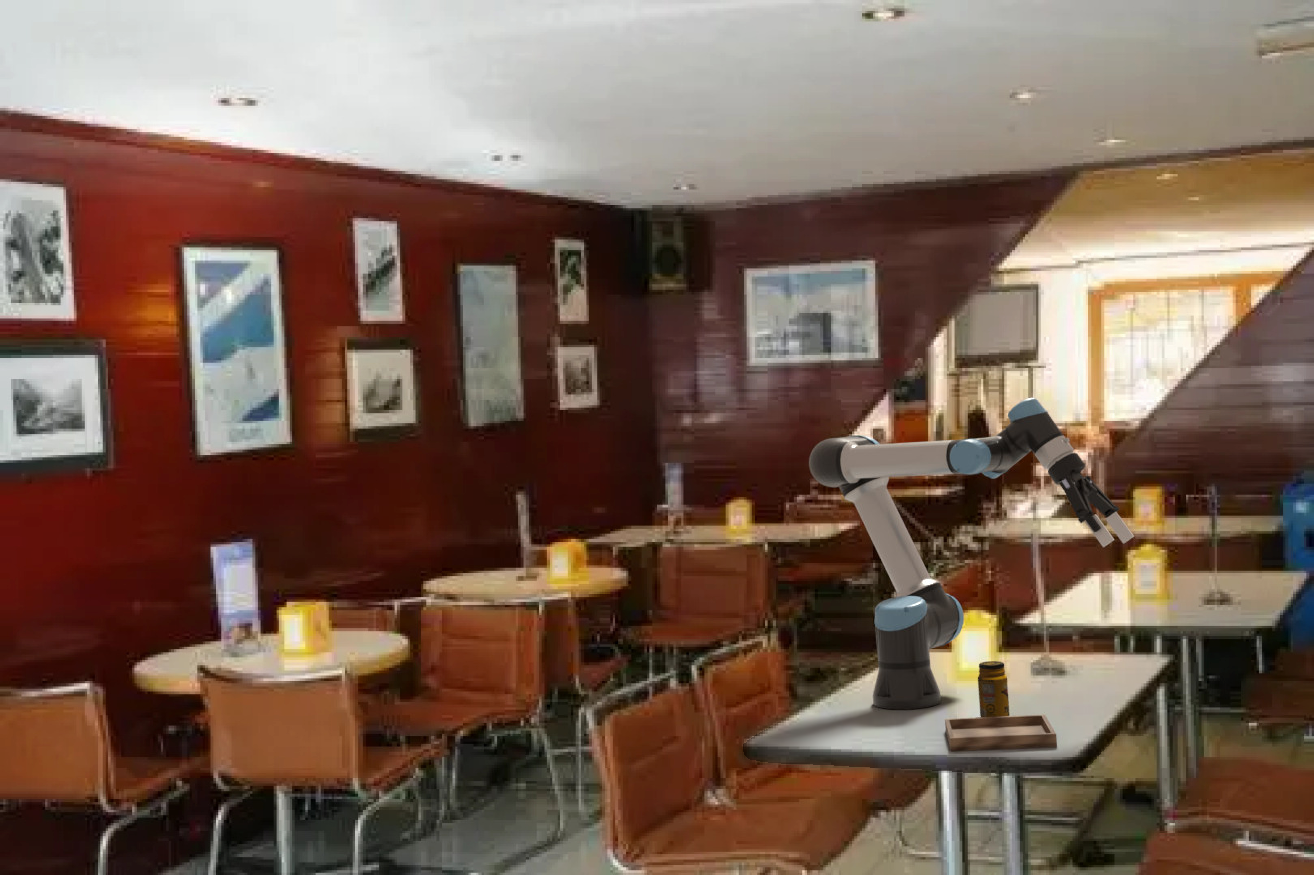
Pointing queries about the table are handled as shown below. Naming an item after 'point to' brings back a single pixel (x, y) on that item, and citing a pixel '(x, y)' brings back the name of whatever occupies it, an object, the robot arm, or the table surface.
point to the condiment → (993, 690)
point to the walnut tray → (1000, 733)
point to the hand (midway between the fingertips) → (1119, 541)
